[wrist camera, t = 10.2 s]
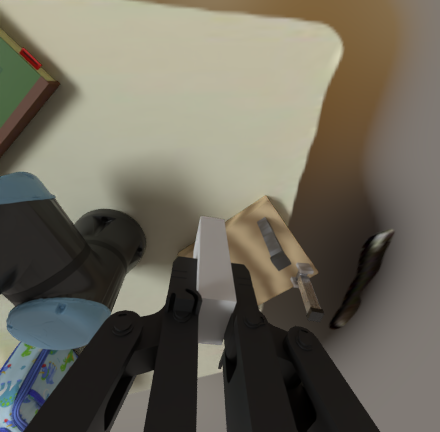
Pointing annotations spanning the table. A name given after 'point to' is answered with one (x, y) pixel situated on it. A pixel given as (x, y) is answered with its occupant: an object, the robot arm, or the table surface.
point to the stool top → (264, 250)
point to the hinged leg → (309, 298)
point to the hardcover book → (20, 89)
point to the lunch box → (29, 383)
